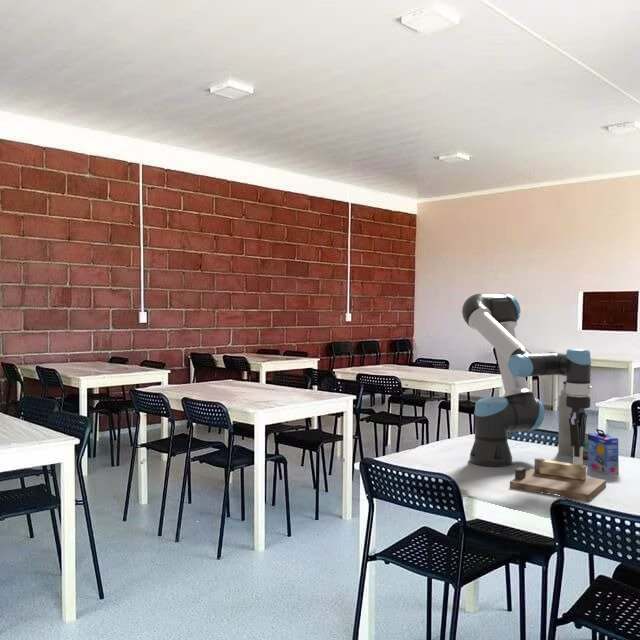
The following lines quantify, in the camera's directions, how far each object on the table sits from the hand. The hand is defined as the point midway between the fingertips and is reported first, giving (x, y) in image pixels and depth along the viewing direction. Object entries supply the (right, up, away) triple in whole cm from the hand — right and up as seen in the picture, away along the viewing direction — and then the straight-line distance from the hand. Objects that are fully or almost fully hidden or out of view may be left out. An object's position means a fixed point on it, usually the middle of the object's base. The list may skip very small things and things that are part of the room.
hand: (577, 465), depth 221 cm
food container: (+15, -4, +25) cm, 30 cm away
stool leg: (-8, -2, -4) cm, 9 cm away
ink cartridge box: (+13, -4, +11) cm, 17 cm away
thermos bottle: (+11, -3, +36) cm, 38 cm away
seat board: (-10, -5, -10) cm, 15 cm away
